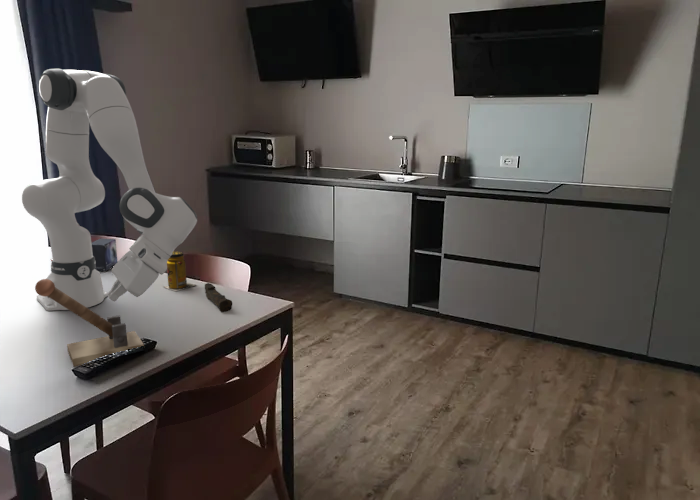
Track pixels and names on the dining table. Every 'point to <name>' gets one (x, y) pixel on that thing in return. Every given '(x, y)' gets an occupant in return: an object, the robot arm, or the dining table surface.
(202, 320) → the dining table surface
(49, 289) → the lever
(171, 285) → the condiment
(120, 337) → the press base
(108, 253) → the small box
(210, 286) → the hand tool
